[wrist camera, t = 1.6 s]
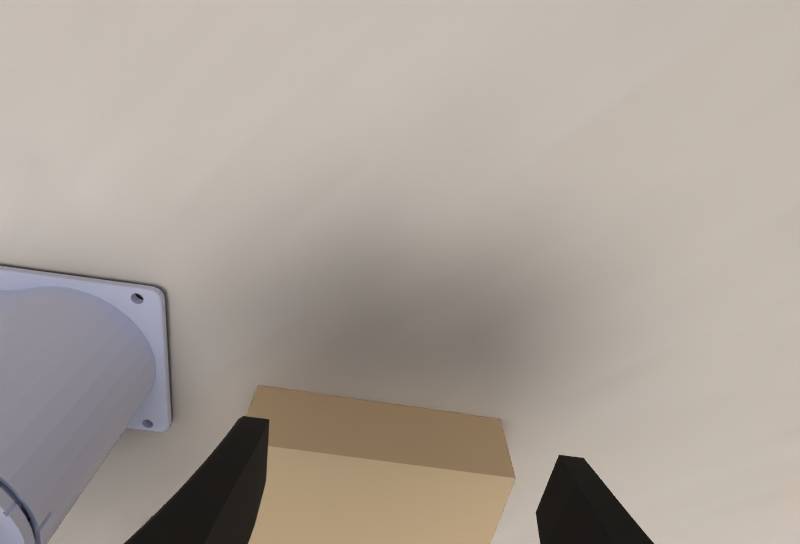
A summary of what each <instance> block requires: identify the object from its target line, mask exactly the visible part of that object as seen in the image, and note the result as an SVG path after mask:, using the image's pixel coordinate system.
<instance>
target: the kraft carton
mask: <svg viewBox="0 0 800 544" xmlns="http://www.w3.org/2000/svg"><path fill="white" fill-rule="evenodd" d="M246 416H248V417H256V418H264V419H270V420H269V438H268V456H267V474H266V484H265V488H264V491H263V495H262V499H261V503H260V507H259V511H258V515H257V519H256V523H255V526H254V529H253V532H252V534H251V537H250V540H249V543H248V544H490V543H491V541H492V538H493V535H494V533H495V530H496V528H497V525H498V523H499V520H500V517H501V515H502V512H503V510H504V507H505V504H506V502H507V499H508V497H509V494H510V491H511V489H512V486H513V484H514V481H515V479H516V478H515V474H514V470H513V466H512V462H511V459H510V455H509V451H508V447H507V443H506V439H505V435H504V431H503V427H502V423H501V420H500V419H496V418H488V417H481V416H474V415H467V414H460V413H452V412H445V411H438V410H431V409H424V408H416V407H409V406H402V405H395V404H388V403H380V402H373V401H366V400H359V399H352V398H344V397H337V396H330V395H323V394H315V393H308V392H301V391H294V390H287V389H279V388H272V387H265V386H258V388H257V390H256V393H255V395H254V398H253V400H252V403H251V405H250V408H249V410H248V413H247V415H246Z"/></svg>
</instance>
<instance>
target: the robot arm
mask: <svg viewBox="0 0 800 544" xmlns="http://www.w3.org/2000/svg"><path fill="white" fill-rule="evenodd" d="M135 293H137V294H140V295H141V296H142V297H143V299H144V300H141V299H139V298H138V297H136V294H135ZM148 420H150V421H151V422H149V421H148ZM269 420H270V419H264V418H256V417H248V416H243V417H241V418H240V419H238V420H237V422H236V423H235V425H234V426H233V427H232V429H231V430H230V431H229V433H228V434H227V435H226V437H225V438H224V439H223V440H222V442H221V443H220V444H219V445H218V446H217V448H216V449H215V450H214V451H213V452H212V454H211V455H210V456H209V457H208V458H207V460H206V461H205V462H204V463H203V464H202V465H201V466H200V467H199V469H198V470H197V471H196V472H195V473H194V474H193V475H192V476H191V477H190V479H189V480H188V481H187V482H186V483H185V484H184V485H183V486H182V487H181V488H180V490H179V491H178V492H177V493H176V494H175V495H174V496H173V497H172V498H171V499H170V500H169V501H168V502H167V503H166V504H165V505H164V506H163V507H162V508H161V509H160V510H159V511H158V512H157V513H156V514H155V515H154V516H153V517H152V518H151V519H150V520H149V521H148V522H147V523H146V524H145V525H144V526H142V527H141V528H140V529H139V530H138V531H137V532H136V533H135V534H134V535H133V536H132V537H131V538H129V539H128V540H127V541H126V542H125V543H124V544H248V543H249V540H250V537H251V534H252V532H253V529H254V526H255V523H256V519H257V515H258V511H259V507H260V503H261V499H262V495H263V491H264V488H265V484H266V474H267V456H268V438H269ZM171 421H172V420H171V402H170V384H169V366H168V348H167V330H166V312H165V297H164V294H163V293H162V291H161V290H159V289H158V288H156V287H153V286H146V285H139V284H132V283H124V282H117V281H109V280H102V279H94V278H87V277H80V276H72V275H65V274H57V273H50V272H42V271H35V270H28V269H20V268H13V267H5V266H0V544H47V543H48V541H49V540H50V538H51V537H52V535H53V534H54V532H55V531H56V529H57V528H58V527H59V525H60V524H61V522H62V521H63V519H64V518H65V516H66V515H67V513H68V512H69V511H70V509H71V508H72V506H73V505H74V503H75V502H76V500H77V499H78V497H79V496H80V494H81V493H82V492H83V490H84V489H85V487H86V486H87V484H88V483H89V481H90V480H91V478H92V477H93V476H94V474H95V473H96V471H97V470H98V468H99V467H100V465H101V464H102V462H103V461H104V459H105V458H106V457H107V455H108V454H109V452H110V451H111V449H112V448H113V446H114V445H115V443H116V442H117V441H118V439H119V438H120V436H121V435H122V433H123V432H124V430H125V429H126V428H129V429H137V430H146V431H154V432H164V431H166V430H167V429H168V428H169V426H170V425H171ZM536 517H537V524H538V531H539V538H540V544H654V543H653V542H652V541H651V540H650V538H649V537H648V536H647V535H646V534H645V533H644V531H643V530H642V529H641V528H640V527H639V525H638V524H637V523H636V522H635V521H634V519H633V518H632V517H631V516H630V515H629V513H628V512H627V511H626V510H625V509H624V507H623V506H622V505H621V504H620V502H619V501H618V500H617V499H616V497H615V496H614V495H613V494H612V492H611V491H610V490H609V489H608V488H607V486H606V485H605V484H604V483H603V481H602V480H601V479H600V478H599V476H598V475H597V474H596V473H595V471H594V470H593V469H592V468H591V467H590V465H589V464H588V463H587V462H586V461H585V459H584V458H579V457H571V456H563V455H559V456H558V459H557V461H556V464H555V466H554V469H553V471H552V474H551V476H550V479H549V481H548V484H547V486H546V489H545V491H544V493H543V496H542V498H541V501H540V503H539V506H538V508H537V511H536Z"/></svg>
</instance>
